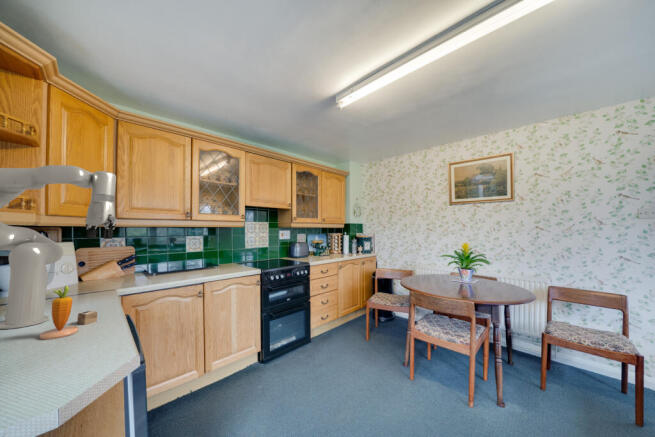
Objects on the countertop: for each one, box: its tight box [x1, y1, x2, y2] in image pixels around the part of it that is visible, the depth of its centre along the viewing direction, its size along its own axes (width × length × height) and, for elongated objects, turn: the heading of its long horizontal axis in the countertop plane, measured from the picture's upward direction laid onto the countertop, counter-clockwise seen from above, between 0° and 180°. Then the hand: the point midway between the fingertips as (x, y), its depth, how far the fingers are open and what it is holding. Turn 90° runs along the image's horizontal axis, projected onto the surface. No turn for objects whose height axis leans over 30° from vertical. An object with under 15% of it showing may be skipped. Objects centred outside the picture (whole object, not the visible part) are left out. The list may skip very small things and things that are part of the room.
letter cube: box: [76, 310, 98, 326], centre depth 96 cm, size 4×4×4 cm
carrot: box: [51, 286, 73, 331], centre depth 85 cm, size 5×5×15 cm
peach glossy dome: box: [39, 325, 79, 341], centre depth 85 cm, size 9×9×1 cm
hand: (99, 238), depth 105 cm, fingers open, 9 cm apart
